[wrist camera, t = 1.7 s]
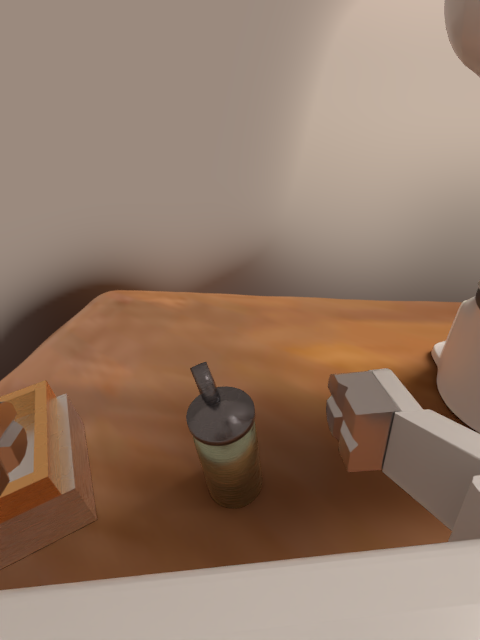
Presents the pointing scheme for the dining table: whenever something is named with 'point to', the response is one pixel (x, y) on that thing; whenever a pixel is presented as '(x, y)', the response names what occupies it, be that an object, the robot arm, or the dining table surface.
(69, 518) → the open wooden box
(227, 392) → the glass jar with lid
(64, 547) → the dining table surface
